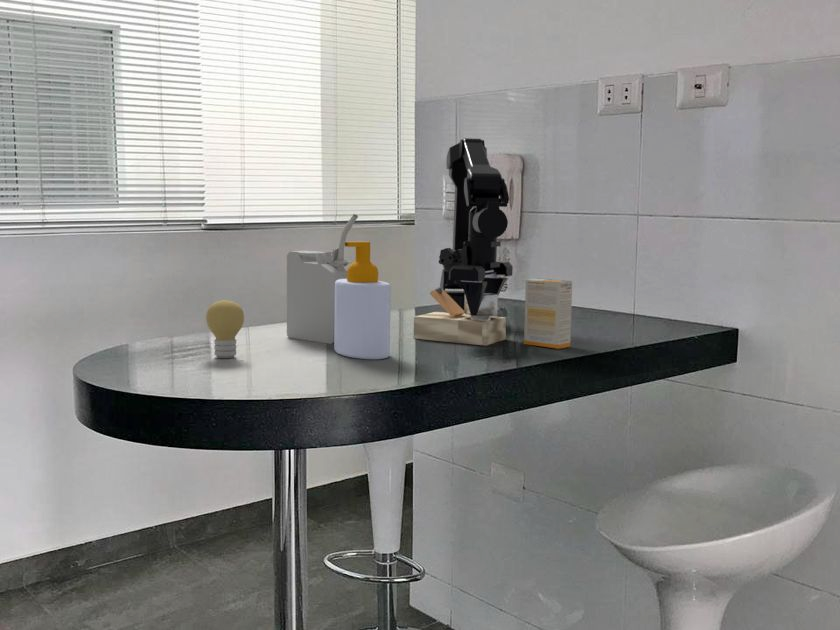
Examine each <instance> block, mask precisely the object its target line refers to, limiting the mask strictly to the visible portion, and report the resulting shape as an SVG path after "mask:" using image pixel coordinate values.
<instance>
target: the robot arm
mask: <svg viewBox="0 0 840 630" xmlns="http://www.w3.org/2000/svg"><path fill="white" fill-rule="evenodd" d="M488 159H489V158H488V150H487V147H486V146H485V140H484V139H481V138H471V137H470V138H469V137H467V138H465V137H464V138H461V139H460V141H459V143H457V144H454V145H451V146H450V147H449V149H448V150H447V154H446V163H445V164H446V169H447V170H448V176H449V178H450V180H451V183H452V184H453V186H454V206H453V207H454V208H453V226H452V227H453V228H452V231H453V233H452V248H451V247H446V248H443V249H440V252H439V256H438V258H439V260H438V264H440V265H442V267H443V269H442V271H441V276H440V282H439V287H440V288H441V289H443V290H444V291H445V292H446V293H447V294H448V295H449V296H450V297H451V298H452V299H453V300H454V301H455V302H456V303H457V304H458V305H459V306H460V307H461V308H462V309H463V310H464V304H465V296H466V299H467V303H468V307H469V310H470V314H471V315H472V316H476V315H477V313H478V310H479V307H480V304H481V301H482V298H483V295H484V293H494V294H498V296H499V295H500V293H501V291H502V289H503V287H504V286H505V283H506V281H508V277H511V276H513V265H512V264H511V262H509V261H499V260H497V255H498V247H501V245H502V244H501V240H500V241H499V240H498V238H499V237H501V236H502V235H503V234H504V233H505V232H506V231H507V229H508V224H509V223H508V222H509V221H508V218H507V217H508V216H507V215H506V213H505V212H504V211H503V210H502V209H500V207H501V208H507V207H508V204H509V202H510V197H509V191H508V185H507V183H506V182H505V181H506V180H505V178H503V177H502V174H501V172H500V170H499V169H497V168H495V167H493V166H491V165H490V162H489V160H488ZM502 276H505V277H502ZM445 312H446V313H448V312H447V311H446V310H445Z"/></svg>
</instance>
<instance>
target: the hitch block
mask: <svg viewBox="0 0 840 630" xmlns="http://www.w3.org/2000/svg"><path fill="white" fill-rule="evenodd" d="M506 325H507V317H505V316H504V317H503V316H496V315H495V316H491V319H490V320H489V321H481V320H471V315H466V314H464V315H461V316H457V317H452V316H451V315H450V314H449V313H446V311H445V312H443V311H433V312H428V313H425V314H424V313H423V314H419V315H414V316H413V339H414V340H416V339H417V340H424V341H425V340H426V341H434V342H435V341H438V342H446V343H454V344H455V343H456V344H465V345H467V344H468V345H476V346H489V345H493V344H495V343H497V342H498V343H499V342H501V341H504V340H506V331H507V330H506V329H507V326H506Z"/></svg>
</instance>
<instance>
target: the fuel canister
mask: <svg viewBox="0 0 840 630" xmlns="http://www.w3.org/2000/svg"><path fill="white" fill-rule="evenodd" d="M358 218H359V216H358V215H357V214H355V213H354V214H352V215H351V217H350V218H349V220H348V221H347V223H346V224H345V226H344V227H343V229H342V232H341V236H340V240H339V244H338V247H336V248H335V249H332V251H314V250H291V251H289V252H287V255H286V336H287V338H290V339H294V340H295V339H296V340H302V341H309V342H315V343H316V342H317V343H324V344H328V345H334V320H335V281H336V280H339V279H347V270H348V269H346V268H345V267H346V266H348V265H349V264H352V261H350V260H347V259H346V260H345V259H344V258H345V249H344V248H345V242H347V241H346V240H347V235H348V233H349V232H350V231H351V229H352V228H353V225H354V224H355V223H356V220H357V219H358Z"/></svg>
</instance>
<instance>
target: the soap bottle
mask: <svg viewBox="0 0 840 630" xmlns="http://www.w3.org/2000/svg"><path fill="white" fill-rule="evenodd" d="M353 247H354V248H355V261H354V262H351V263H350V265H349V266H348V267H347V269H346V270H347V279H339V280H336V281H335V320H334V344H333V345H334V346H333V348H334V352H335V353H336V354H338V355H341V356H344V357H349V358H353V359H359V360H361V359H362V360H373V361H374V360H383V359H388V357H389V356H390V354H391V302H392V299H391V297H392V295H391V294H392V293H391V292H392V285H391V283H389V282H386V281H382V280H379V271H378V267H377V266H376V264H374V263H372V262H371V241H345V245H344V248H353Z"/></svg>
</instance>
